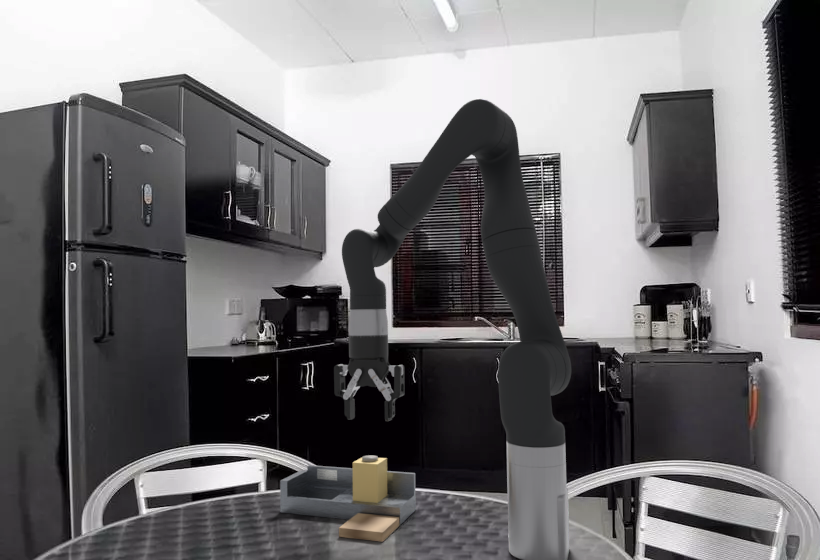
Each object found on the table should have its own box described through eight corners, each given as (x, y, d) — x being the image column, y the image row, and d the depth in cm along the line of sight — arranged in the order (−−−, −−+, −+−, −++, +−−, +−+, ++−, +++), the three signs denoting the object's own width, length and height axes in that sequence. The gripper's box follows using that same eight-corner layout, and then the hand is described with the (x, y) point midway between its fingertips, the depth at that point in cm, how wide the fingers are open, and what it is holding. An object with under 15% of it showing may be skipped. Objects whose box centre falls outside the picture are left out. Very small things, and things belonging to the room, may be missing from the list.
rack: (415, 510, 117) (415, 473, 117) (400, 524, 109) (399, 485, 109) (302, 499, 125) (302, 464, 125) (280, 512, 117) (280, 475, 117)
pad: (399, 525, 108) (399, 517, 108) (382, 541, 101) (382, 532, 101) (358, 521, 111) (358, 513, 111) (339, 536, 103) (339, 527, 103)
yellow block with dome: (387, 495, 117) (387, 455, 117) (377, 502, 112) (377, 461, 112) (363, 493, 118) (363, 453, 119) (352, 500, 113) (352, 459, 114)
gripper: (409, 332, 118) (411, 418, 117) (342, 333, 123) (343, 415, 122) (396, 333, 111) (397, 424, 110) (326, 334, 116) (326, 421, 115)
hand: (369, 419), depth 116 cm, fingers open, 7 cm apart
